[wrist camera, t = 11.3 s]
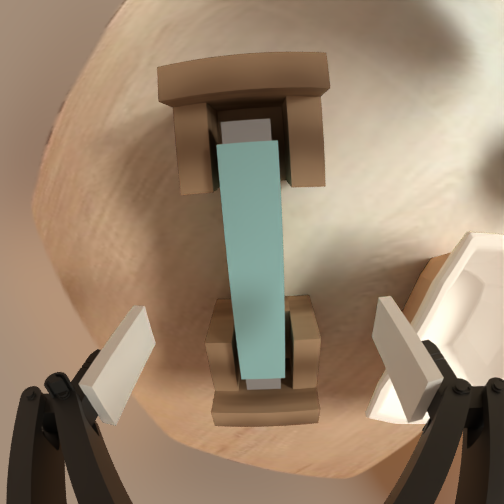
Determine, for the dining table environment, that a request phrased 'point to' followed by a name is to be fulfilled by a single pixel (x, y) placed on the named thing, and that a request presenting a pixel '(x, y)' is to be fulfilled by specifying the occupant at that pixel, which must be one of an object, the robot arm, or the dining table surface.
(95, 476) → the robot arm
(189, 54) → the dining table surface
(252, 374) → the rail
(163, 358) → the dining table surface
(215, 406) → the posts
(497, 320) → the bowl
